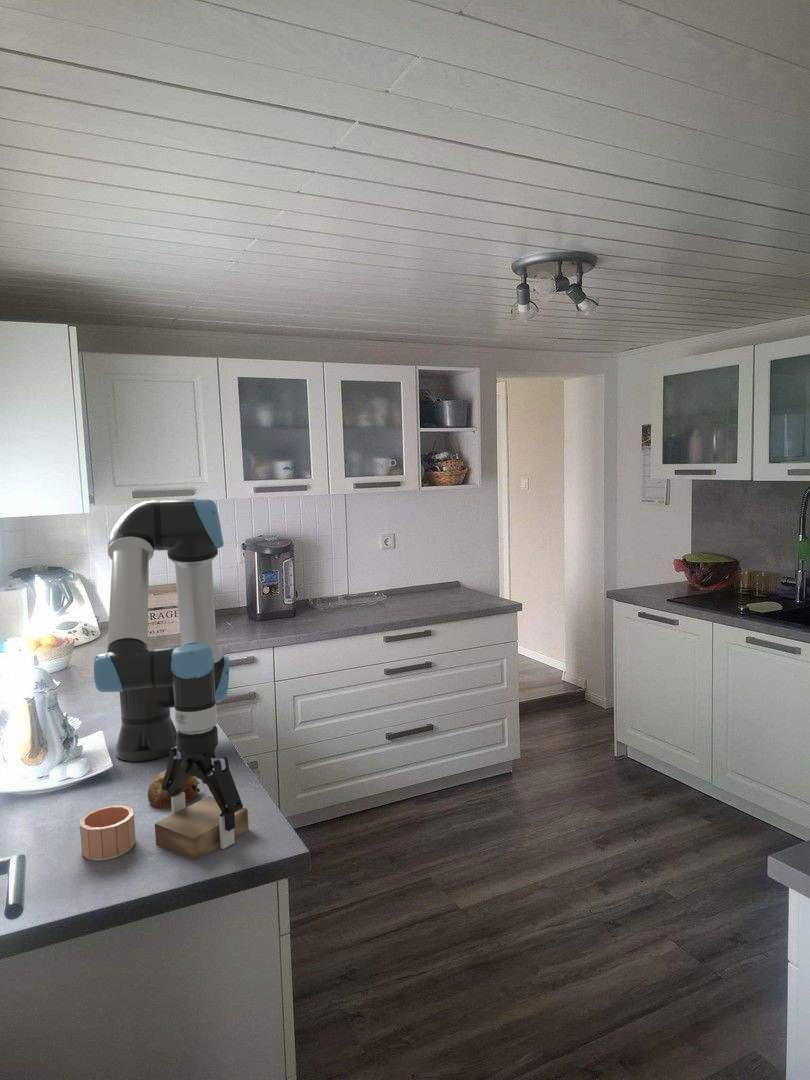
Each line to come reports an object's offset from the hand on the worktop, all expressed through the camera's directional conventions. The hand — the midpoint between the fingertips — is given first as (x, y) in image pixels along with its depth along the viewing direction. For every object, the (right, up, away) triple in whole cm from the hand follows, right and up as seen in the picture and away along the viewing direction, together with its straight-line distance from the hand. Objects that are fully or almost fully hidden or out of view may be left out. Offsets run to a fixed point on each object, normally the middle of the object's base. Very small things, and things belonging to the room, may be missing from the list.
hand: (203, 836), depth 136 cm
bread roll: (-11, +1, +18) cm, 21 cm away
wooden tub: (-17, -1, -3) cm, 17 cm away
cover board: (0, -1, 0) cm, 1 cm away
